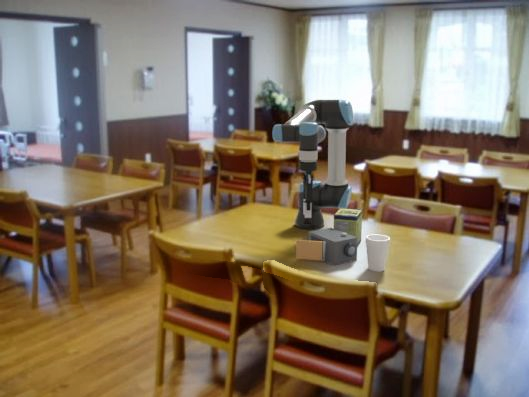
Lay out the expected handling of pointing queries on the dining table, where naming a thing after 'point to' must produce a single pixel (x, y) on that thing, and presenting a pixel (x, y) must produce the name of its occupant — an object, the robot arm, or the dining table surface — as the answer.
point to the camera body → (336, 245)
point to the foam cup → (377, 251)
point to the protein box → (349, 222)
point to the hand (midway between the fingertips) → (307, 215)
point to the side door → (310, 250)
